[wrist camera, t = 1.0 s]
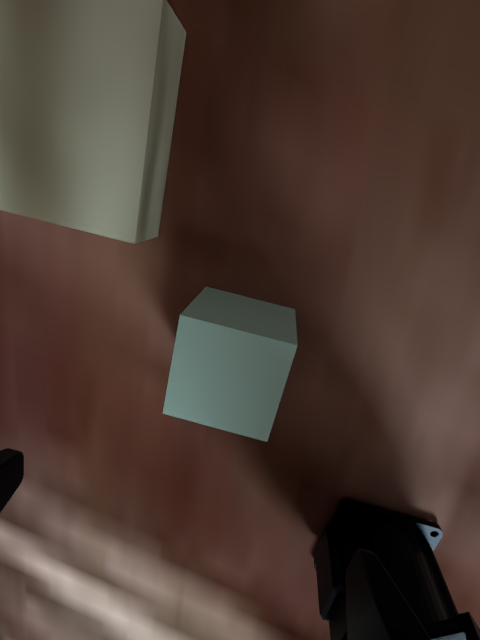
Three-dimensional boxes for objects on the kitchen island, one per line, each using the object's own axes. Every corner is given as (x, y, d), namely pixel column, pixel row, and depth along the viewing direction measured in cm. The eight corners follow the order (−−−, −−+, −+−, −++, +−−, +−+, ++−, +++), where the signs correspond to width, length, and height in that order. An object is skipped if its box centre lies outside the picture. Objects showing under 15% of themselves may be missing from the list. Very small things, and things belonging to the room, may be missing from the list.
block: (295, 308, 19) (297, 345, 14) (271, 386, 21) (267, 442, 16) (206, 286, 19) (179, 314, 14) (190, 364, 21) (162, 413, 16)
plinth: (186, 32, 15) (163, -6, 12) (158, 236, 18) (134, 244, 16) (-6, -11, 16) (-71, -57, 13) (-2, 196, 19) (-53, 196, 16)
